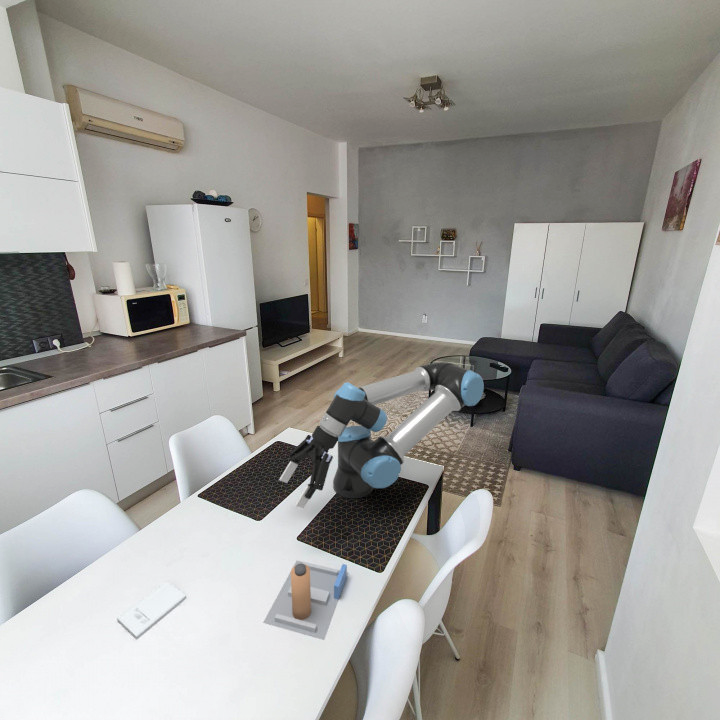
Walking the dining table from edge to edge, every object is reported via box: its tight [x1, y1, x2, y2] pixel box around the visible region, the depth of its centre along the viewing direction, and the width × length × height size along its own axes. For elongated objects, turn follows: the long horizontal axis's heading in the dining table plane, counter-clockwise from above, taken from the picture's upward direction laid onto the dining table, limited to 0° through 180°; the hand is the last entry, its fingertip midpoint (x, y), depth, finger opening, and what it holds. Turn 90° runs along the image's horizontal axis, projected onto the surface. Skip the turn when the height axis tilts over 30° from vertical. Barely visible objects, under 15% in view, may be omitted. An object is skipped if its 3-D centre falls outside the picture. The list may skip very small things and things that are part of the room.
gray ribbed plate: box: [263, 560, 349, 641], centre depth 95 cm, size 15×19×5 cm
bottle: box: [290, 564, 311, 620], centre depth 89 cm, size 4×4×13 cm
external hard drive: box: [116, 580, 187, 640], centre depth 92 cm, size 2×8×12 cm
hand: (290, 493), depth 112 cm, fingers open, 13 cm apart
